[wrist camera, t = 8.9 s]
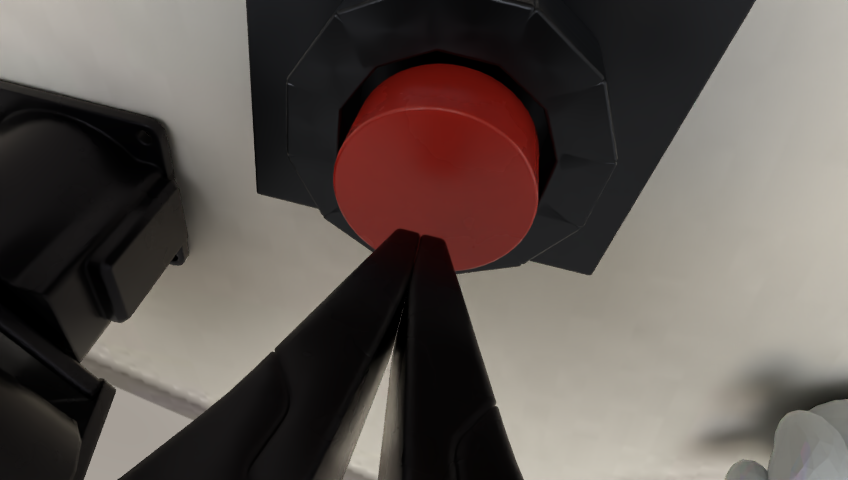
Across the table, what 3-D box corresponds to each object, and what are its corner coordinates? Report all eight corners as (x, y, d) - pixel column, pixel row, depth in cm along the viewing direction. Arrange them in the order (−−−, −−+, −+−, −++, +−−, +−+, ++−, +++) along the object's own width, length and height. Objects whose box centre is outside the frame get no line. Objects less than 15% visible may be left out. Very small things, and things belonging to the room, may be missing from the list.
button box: (282, 152, 17) (229, 236, 14) (279, -152, 11) (189, -117, 9) (587, 227, 17) (596, 326, 14) (731, -40, 11) (794, 33, 9)
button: (348, 198, 13) (326, 246, 12) (364, 39, 10) (338, 81, 9) (508, 237, 13) (504, 290, 12) (567, 89, 10) (571, 139, 9)
